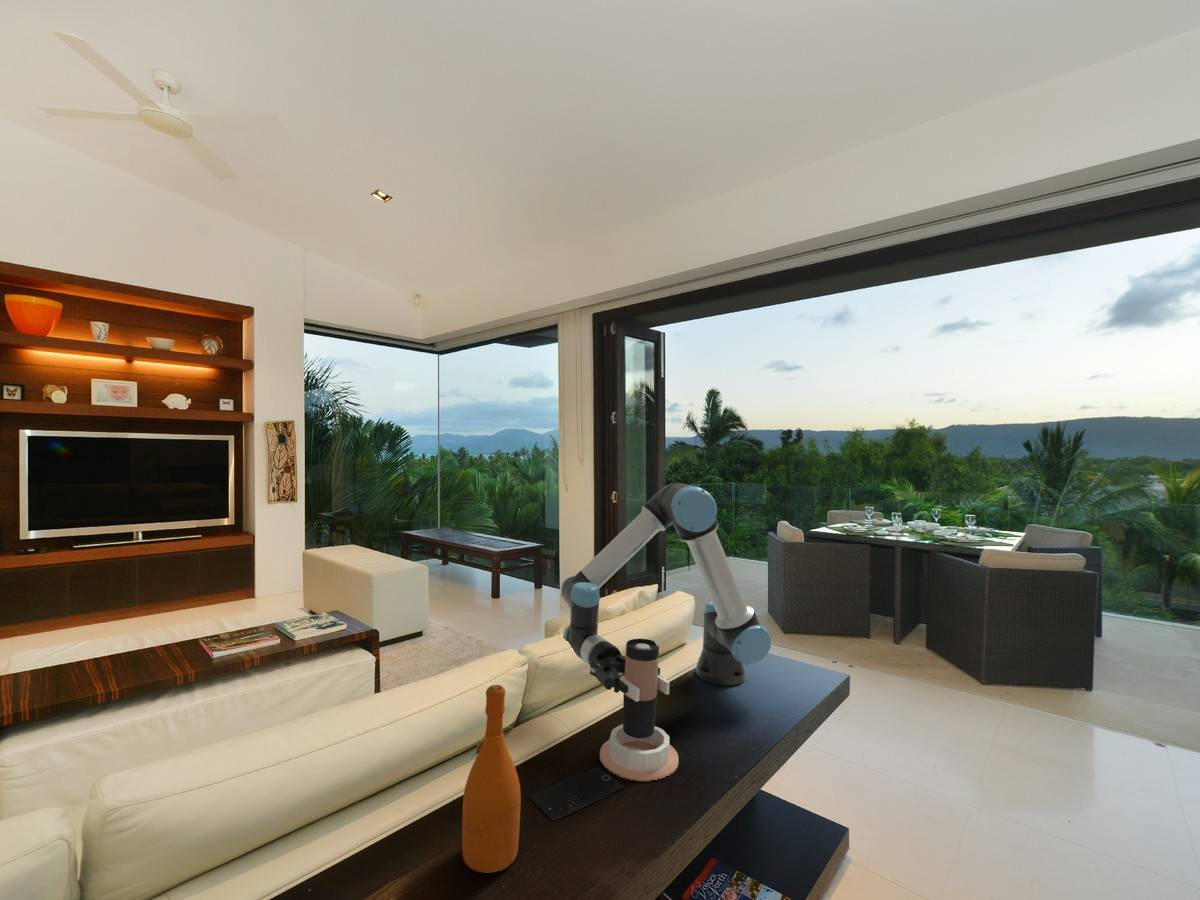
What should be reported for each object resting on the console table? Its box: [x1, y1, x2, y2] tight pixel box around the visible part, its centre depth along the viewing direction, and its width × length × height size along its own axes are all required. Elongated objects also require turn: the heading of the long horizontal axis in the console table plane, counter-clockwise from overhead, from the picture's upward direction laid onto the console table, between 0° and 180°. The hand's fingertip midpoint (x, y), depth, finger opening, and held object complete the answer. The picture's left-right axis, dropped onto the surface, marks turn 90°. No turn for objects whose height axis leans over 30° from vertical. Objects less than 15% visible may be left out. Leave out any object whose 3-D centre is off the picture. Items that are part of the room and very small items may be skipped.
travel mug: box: [622, 638, 660, 738], centre depth 134 cm, size 8×8×20 cm
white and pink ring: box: [599, 723, 680, 782], centre depth 134 cm, size 18×18×5 cm
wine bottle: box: [461, 684, 522, 874], centre depth 101 cm, size 10×10×30 cm
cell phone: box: [529, 766, 624, 819], centre depth 120 cm, size 9×18×1 cm, turn 129°
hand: (653, 691), depth 129 cm, fingers closed on travel mug, 7 cm apart
